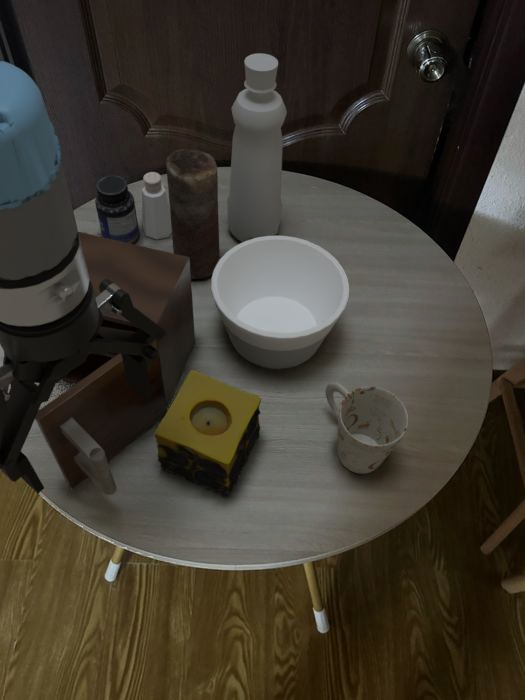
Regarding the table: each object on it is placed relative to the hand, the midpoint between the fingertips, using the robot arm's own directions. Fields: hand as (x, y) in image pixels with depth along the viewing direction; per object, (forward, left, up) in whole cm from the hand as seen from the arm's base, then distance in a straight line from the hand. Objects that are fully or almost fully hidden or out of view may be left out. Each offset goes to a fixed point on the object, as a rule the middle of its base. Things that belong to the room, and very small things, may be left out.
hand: (89, 433), depth 61 cm
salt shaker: (-13, +48, -19) cm, 54 cm away
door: (0, +6, -19) cm, 20 cm away
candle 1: (-4, +42, -19) cm, 47 cm away
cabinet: (-7, +21, -19) cm, 29 cm away
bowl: (+12, +33, -19) cm, 40 cm away
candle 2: (+9, +11, -19) cm, 24 cm away
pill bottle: (-18, +45, -19) cm, 52 cm away
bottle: (+3, +53, -19) cm, 57 cm away
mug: (+26, +17, -19) cm, 37 cm away
